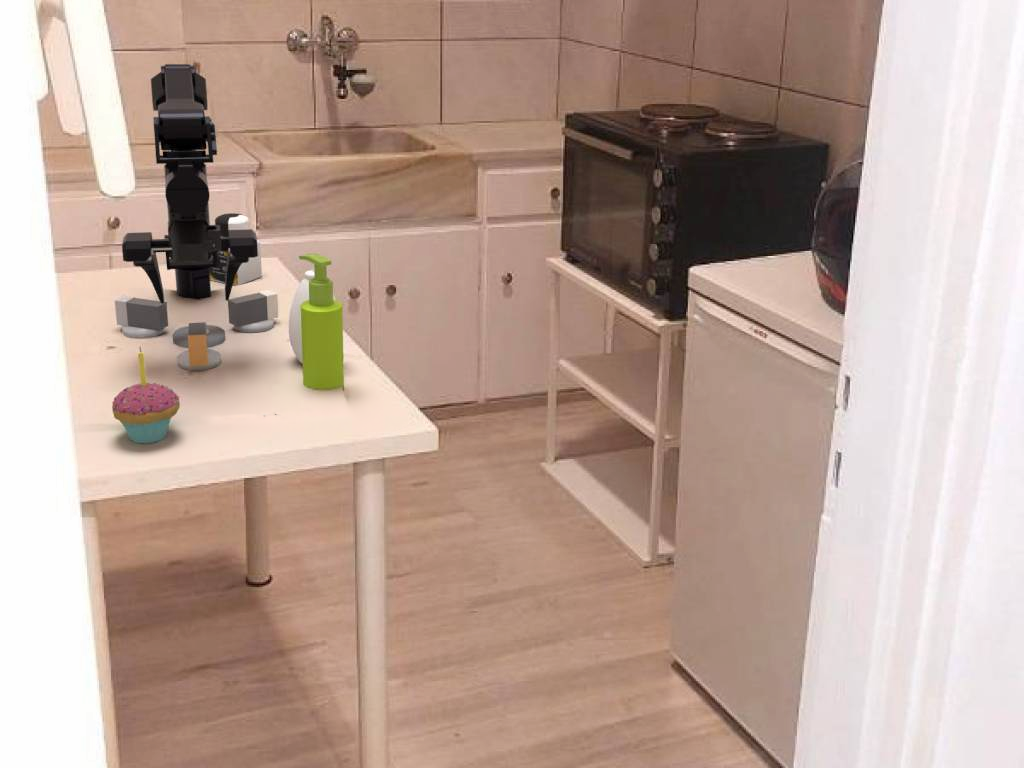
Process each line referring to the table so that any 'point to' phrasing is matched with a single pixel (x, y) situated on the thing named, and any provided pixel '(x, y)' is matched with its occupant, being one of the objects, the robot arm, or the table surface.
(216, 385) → the table surface
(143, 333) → the knob near
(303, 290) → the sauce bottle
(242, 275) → the medicine bottle
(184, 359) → the knob
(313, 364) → the soap dispenser
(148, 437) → the cupcake
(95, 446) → the table surface
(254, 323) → the knob
